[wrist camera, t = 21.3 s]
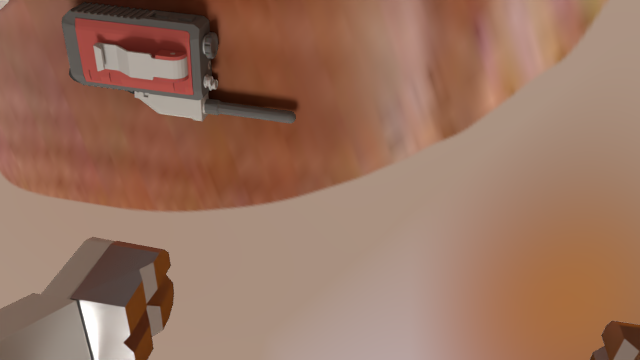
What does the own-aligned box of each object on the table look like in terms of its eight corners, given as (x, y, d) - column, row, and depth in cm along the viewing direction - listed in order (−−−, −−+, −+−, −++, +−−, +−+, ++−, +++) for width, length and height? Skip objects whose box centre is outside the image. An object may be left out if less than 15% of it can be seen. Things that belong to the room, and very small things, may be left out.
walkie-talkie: (83, 93, 51) (298, 122, 49) (57, 114, 48) (287, 146, 46) (65, -4, 47) (302, 23, 44) (34, 11, 43) (291, 42, 41)
